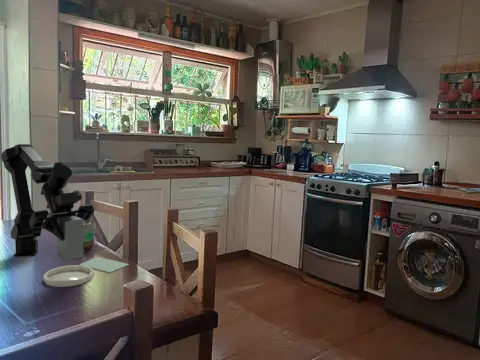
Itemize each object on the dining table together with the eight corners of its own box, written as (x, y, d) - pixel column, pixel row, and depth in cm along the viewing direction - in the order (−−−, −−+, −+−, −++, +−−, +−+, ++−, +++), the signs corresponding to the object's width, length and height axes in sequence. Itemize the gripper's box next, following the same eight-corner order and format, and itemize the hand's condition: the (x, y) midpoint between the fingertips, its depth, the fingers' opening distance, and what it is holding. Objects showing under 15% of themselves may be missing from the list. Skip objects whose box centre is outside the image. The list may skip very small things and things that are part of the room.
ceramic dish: (37, 288, 114) (37, 282, 114) (52, 271, 128) (52, 265, 128) (87, 287, 116) (87, 281, 116) (97, 270, 130) (97, 264, 130)
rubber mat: (79, 266, 133) (79, 264, 133) (98, 259, 141) (98, 257, 141) (110, 274, 127) (110, 272, 127) (129, 266, 135) (129, 264, 135)
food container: (84, 253, 147) (84, 227, 145) (70, 252, 148) (69, 226, 146) (102, 244, 159) (102, 220, 157) (88, 243, 160) (88, 219, 158)
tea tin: (66, 260, 118) (65, 221, 116) (57, 255, 121) (57, 218, 120) (83, 256, 122) (83, 218, 120) (74, 252, 125) (74, 215, 124)
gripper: (31, 184, 114) (49, 229, 108) (91, 180, 128) (109, 219, 123) (22, 206, 120) (38, 249, 115) (80, 200, 134) (96, 237, 129)
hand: (72, 238), depth 120 cm, fingers closed on tea tin, 5 cm apart
